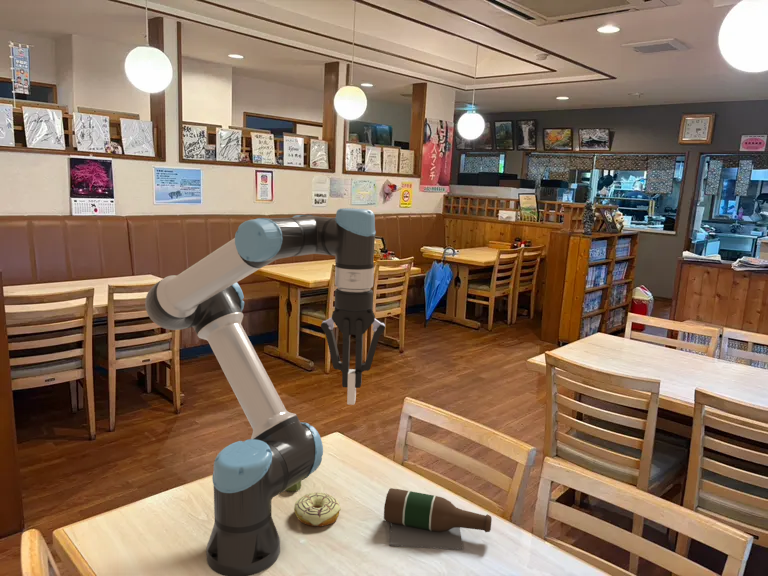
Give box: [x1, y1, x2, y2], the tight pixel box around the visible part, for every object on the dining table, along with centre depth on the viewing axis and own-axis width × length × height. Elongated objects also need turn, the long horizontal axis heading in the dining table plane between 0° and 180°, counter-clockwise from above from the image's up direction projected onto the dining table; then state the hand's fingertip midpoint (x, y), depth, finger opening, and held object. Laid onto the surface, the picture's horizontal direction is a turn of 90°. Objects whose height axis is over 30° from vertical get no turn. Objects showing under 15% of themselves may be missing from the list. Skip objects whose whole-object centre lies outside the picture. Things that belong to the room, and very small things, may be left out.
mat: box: [389, 523, 464, 551], centre depth 129 cm, size 16×12×1 cm
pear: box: [284, 480, 302, 492], centre depth 147 cm, size 6×5×10 cm
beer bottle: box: [383, 487, 493, 533], centre depth 128 cm, size 8×8×24 cm
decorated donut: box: [293, 492, 341, 528], centre depth 133 cm, size 10×11×4 cm
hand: (351, 401), depth 114 cm, fingers closed
